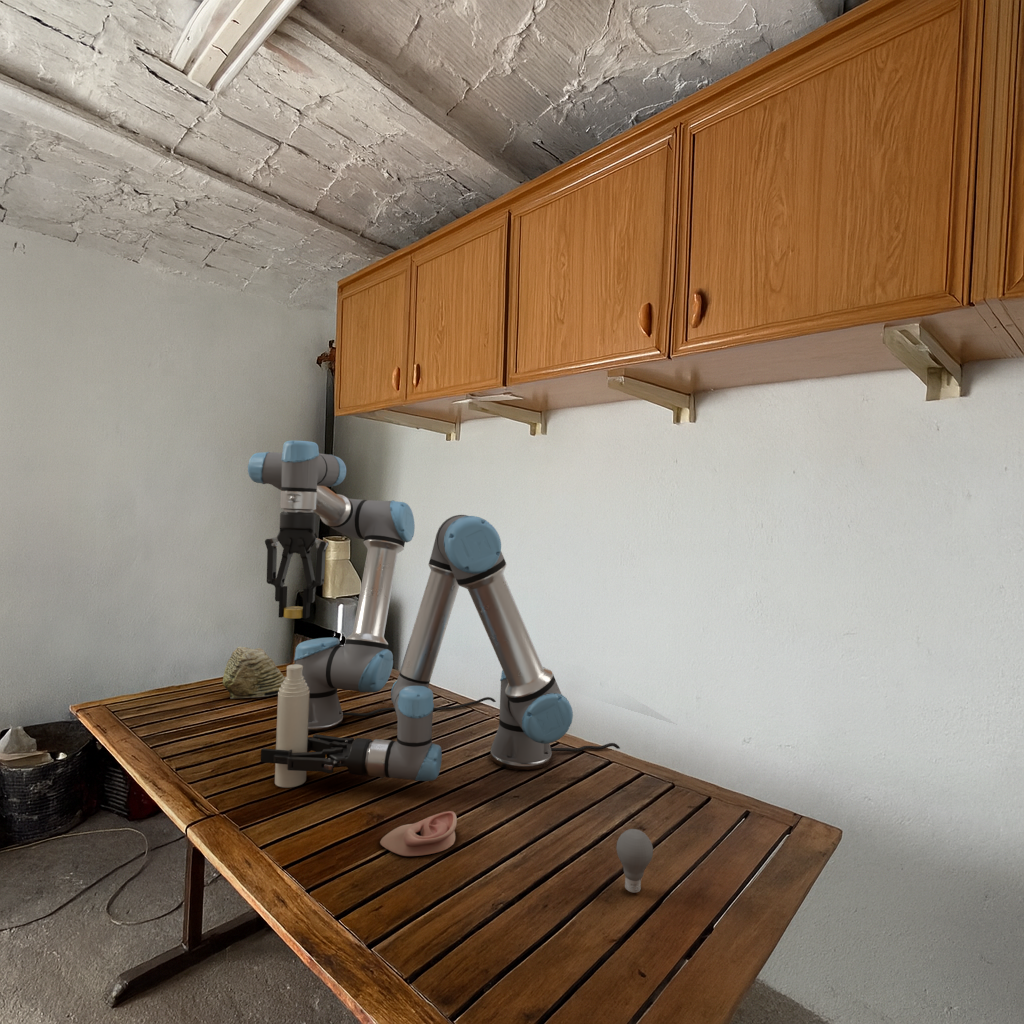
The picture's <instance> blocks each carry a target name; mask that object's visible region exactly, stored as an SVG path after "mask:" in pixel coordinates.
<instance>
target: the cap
mask: <svg viewBox="0 0 1024 1024" xmlns="http://www.w3.org/2000/svg"><path fill="white" fill-rule="evenodd" d="M302 616H303V606H299V605H297V606H296V605H293V606H287V607H285V608H284V614H283V617H282V618H285V619H292V620H293V619H295V620H296V619H303V618H302Z"/></svg>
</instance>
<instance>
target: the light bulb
mask: <svg viewBox="0 0 1024 1024" xmlns="http://www.w3.org/2000/svg"><path fill="white" fill-rule="evenodd" d="M615 849H616V854H617V857H618V859H619V861H620V863H621V865H622V867H623V873H624V874H623V875H624V876H625V878H624V888H625V890H627V891H628V892H630V893H634V894H635V893H639V892H640V891H641V889H642V887H641V886H642V879H643V877H644V875H645V871H646V868H647V867H648V866H649V864H650V863H651V861H652V859H653V855H654V847H653V843H652V841H651V838H649V836H648V835H647V834H646V833H645V832H643V831H642V830H641V829H636V828H629V829H627V830H625V831H623V832H622V833H621V834H620V835H619V837H618V839H617V841H616V847H615Z"/></svg>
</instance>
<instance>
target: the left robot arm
mask: <svg viewBox="0 0 1024 1024" xmlns="http://www.w3.org/2000/svg"><path fill="white" fill-rule="evenodd" d="M319 450H320V449H319V445H318V443H316V442H315V441H308V440H295V439H294V440H286V441H285V442H284V443H283V444H282V452H274V451H272V452H271V451H265V452H264V451H261V452H255V453H254V454H252V455H251V456H250V458H249V460H248V464H247V474H248V476H249V478H250V479H251V481H252V482H254V483H256V484H262V485H267V484H268V485H271V486H273V487H274V488H276V489H278V490H280V510H282V511H280V513H279V532H278V533H277V535H276V536H274V537H272V538H271V537H270V538H266V539H265V540H264V543H265V547H266V551H267V552H266V583H267V584H269V585H272V586H274V600H275V602H278V618H280V619H281V618H282V619H283V618H284V617H283V614H284V608H285V607H288V602H287V601H288V585H286V582H285V581H286V578H287V575H288V571H289V567H290V563H291V560H292V557H293V555H294V554H298V555H299V557H300V558H301V562H302V568H303V573H304V577H305V583H306V587H305V588H303V591H302V592H303V594H302V607H303V616H302V618H301V619H307V618H310V617H311V604H312V603H314V602H315V600H316V588H317V587H320V586H322V585H324V584H325V573H326V572H325V571H326V553H327V549H328V547H329V545H330V544H329V541H328V540H323V539H320V538H318V535H317V533H316V524H317V518H316V517H317V516H319V518H320V520H321V522H322V523H323V524H325V525H326V526H328V527H329V528H331V529H333V530H335V531H336V532H339V533H340V534H342V535H345V536H348V537H349V538H354V539H359V540H363V545H364V546H365V548H366V549H367V553H366V558H365V563H364V568H363V574H362V580H361V584H360V590H359V596H358V601H357V607H356V612H355V618H354V624H353V628H352V633H351V634H350V635H348V636H347V637H346V638H345V642H344V645H342V644H340V643H341V641H340V639H339V638H338V637H318V638H313V639H307V640H304V641H302V642H299V643H298V644H297V645H296V647H295V652H294V659H293V661H294V664H299V665H302V666H303V672H302V676H303V677H304V680H305V681H306V683H307V686H308V687H309V691H310V694H309V721H308V733H316V732H325V731H329V730H332V729H335V728H337V727H339V726H340V725H342V723H343V722H344V716H349V717H352V716H353V717H368V716H372V715H374V714H377V713H381V712H387V711H388V712H389V711H395V707H394V706H393V707H392V706H391V707H382V708H378V709H375V710H371V711H369V712H363V713H362V712H361V713H359V712H346V711H345V712H343V709H342V706H341V702H340V699H339V695H338V690H344V691H345V690H346V691H353V692H359V693H378V692H380V691H381V690H382V689H383V688H384V687H385V685H386V684H387V683H388V681H389V679H390V676H391V675H392V670H393V668H394V667H393V666H394V660H393V659H394V655H393V652H392V651H391V650H390V649H388V647H389V643H388V641H387V640H386V639H385V631H386V625H387V620H388V615H389V614H388V613H389V607H390V603H391V602H390V601H391V597H392V590H393V583H394V578H395V573H396V567H397V566H396V565H397V560H398V555H399V554H400V553H401V552H402V551H404V550H405V543H409V542H411V541H412V540H413V538H414V536H415V517H414V514H413V513H414V512H413V510H412V508H411V507H410V505H409V504H408V503H407V502H405V501H398V500H397V501H396V500H380V499H379V500H377V499H359V498H357V499H356V498H349V497H347V496H345V495H344V494H339V493H335V492H334V491H333V490H331V489H330V487H336V486H338V485H340V484H341V483H343V482H344V480H345V478H346V476H347V466H346V463H345V462H344V460H343V459H342V458H340V457H339V456H337V455H333V454H331V453H329V454H327V453H320V451H319ZM279 544H280V546H281V547H282V548H283V549H282V553H281V558H280V559H281V560H280V564H279V567H278V566H277V562H278V561H277V560H278V550H277V549H278V548H277V547H278V546H279ZM314 545H315V548H316V549H317V550H316V563H315V564H316V565H315V573H314V568H313V567H314V566H313V561H312V553H311V549H312V548H313V546H314ZM277 567H278V570H277ZM485 701H491V702H493V703H496V702H497V701H496V700H495V699H494V698H493V697H490V696H486V697H483V698H480V699H477V700H474V701H469V702H465V703H461V704H458V705H450V706H439V707H434V708H433V711H447V710H455V709H461V708H464V707H465V708H466V707H468V706H473V705H476V704H479V703H482V702H485Z"/></svg>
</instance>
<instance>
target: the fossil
mask: <svg viewBox="0 0 1024 1024" xmlns="http://www.w3.org/2000/svg"><path fill="white" fill-rule="evenodd" d="M222 676H223V677H222V685H223V687H224V688H225V690H226V691H228V693H229V698H230V699H250V698H264V697H271V696H275V695H278V692H279V688H280V687H281V684H283V681H284V680H285V677H286V676H284V674H283V673H282V672H281V669H279V668H278V667H277V665H276V663H275V662H274V660H273V659H272V658H271V657H270V656H269V655H268V654H267V653H266V652H265V650H264V649H263V648H260V647H258V648H251V647H247V646H246V647H245V646H238V647H237V648H236V649H235V650H233V651H232V653H231V656H230V657H229V659H228V660H227V663H226V666H225V668H224V671H223V675H222Z"/></svg>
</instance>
